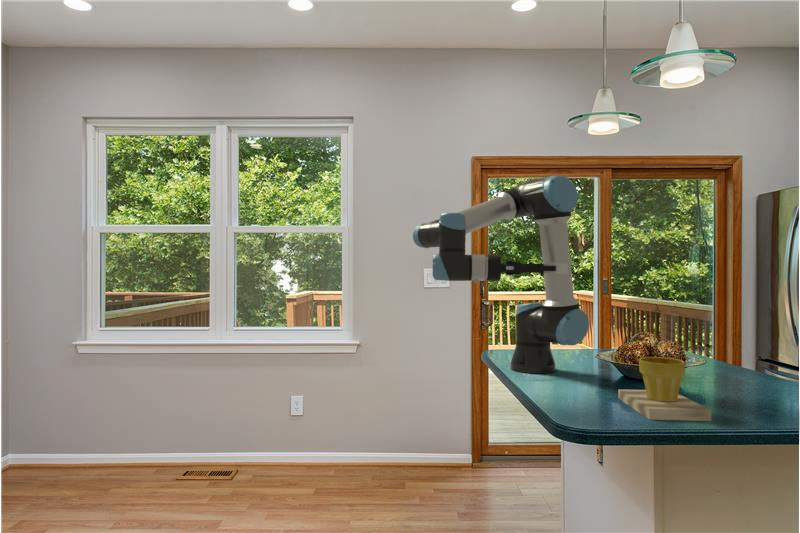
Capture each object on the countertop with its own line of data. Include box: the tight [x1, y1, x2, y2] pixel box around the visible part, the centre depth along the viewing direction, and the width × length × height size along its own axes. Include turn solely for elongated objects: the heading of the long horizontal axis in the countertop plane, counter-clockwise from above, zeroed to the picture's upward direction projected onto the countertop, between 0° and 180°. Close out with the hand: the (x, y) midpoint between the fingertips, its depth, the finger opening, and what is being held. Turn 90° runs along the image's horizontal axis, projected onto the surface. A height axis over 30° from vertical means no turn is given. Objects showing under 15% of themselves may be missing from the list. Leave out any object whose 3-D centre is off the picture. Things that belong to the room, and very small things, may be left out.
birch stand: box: [617, 388, 712, 422], centre depth 133 cm, size 20×14×2 cm
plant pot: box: [638, 356, 686, 402], centre depth 133 cm, size 10×10×10 cm
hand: (561, 268), depth 151 cm, fingers open, 13 cm apart
